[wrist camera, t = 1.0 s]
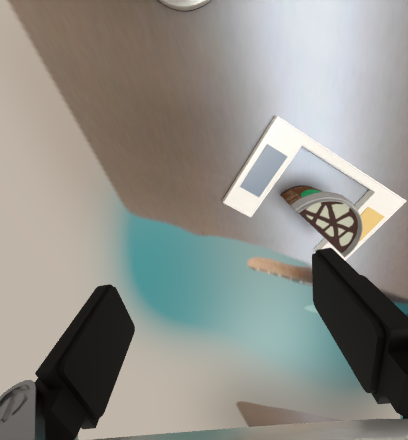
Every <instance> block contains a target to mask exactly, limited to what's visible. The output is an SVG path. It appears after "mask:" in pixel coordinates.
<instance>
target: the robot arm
mask: <svg viewBox="0 0 408 440" xmlns="http://www.w3.org/2000/svg"><path fill="white" fill-rule="evenodd" d="M159 1H160V2H162V3H163V4H164V5H166V6H168V7H170V8H173V9H177V10H182V11H183V10H193V9H196V8H200V7H201V6H203V5H205V4H206V3H208V2H209V1H210V0H159ZM312 274H313V302H314V305H315V308H316V309H317V311H318V313H319V314H320V316H321V317H322V320H323V321H324V323H325V325H326V326H327V328H328V329H329V331H330V333H331V335H332V336H333V338H334V340H335V342H336V343H337V345H338V347H339V348H340V350H341V352H342V353H343V355H344V357H345V358H346V360H347V361H348V364H349V365H350V367H351V369H352V370H353V372H354V374H355V376H356V377H357V379H358V381H359V382H360V384H361V386H362V387H363V389H364V390H365V391H366V392H367V393H372V395H373V397H374V398H375V400H376V402H377V403H378V404H385V403H391V405H392V406H393V408H394V409H395V411H396V412H397V413H399V414H400V415H401V416H400V419H371V420H370V419H369V420H351V421H330V422H313V423H300V424H286V425H272V426H258V427H244V428H232V429H218V430H205V431H192V432H180V433H167V434H155V435H142V436H130V437H119V438H107V439H95V440H408V317H407V316H406V315H405V314H404V313H403V312H402V311H401V310H400V309H399V308H398V307H397V306H396V305H395V304H394V303H393V302H392V301H390V300H389V299H388V298H387V297H386V296H385V295H384V294H383V293H382V292H381V291H380V290H379V289H378V288H377V287H376V286H375V285H374V284H373V283H372V282H370V281H369V280H368V279H367V278H366V277H365V276H362V275H359V274H358V273H357V272H356V271H355V270H354V269H353V268H352V267H351V266H350V265H349V264H348V263H347V262H346V261H345V260H344V259H343V258H342V257H341V256H340V255H339V254H338V253H337V252H336V251H335V250H334V249H332V248H325V249H319V250H316V253H315V254H313V255H312ZM134 331H135V327H134V324H133V322H132V320H131V318H130V316H129V314H128V312H127V310H126V308H125V305H124V303H123V302H122V299H121V297H120V295H119V293H118V291H117V289H116V288H115V287H113V286H112V285H103V286H98V287H97V288H96V289H95V291H94V292H93V293H92V295H91V296H90V298H89V299H88V300H87V302H86V303H85V305H84V306H83V307H82V309H81V310H80V312H79V313H78V314H77V316H76V317H75V318H74V320H73V321H72V323H71V324H70V326H69V327H68V328H67V330H66V331H65V332H64V334H63V335H62V337H61V338H60V339H59V341H58V342H57V343H56V345H55V346H54V348H53V349H52V351H51V352H50V353H49V355H48V356H47V358H46V359H45V360H44V362H43V363H42V364H41V366H40V367H39V369H38V370H37V371H36V373H35V374H36V375H37V377H38V379H37V380H36V382H33V381H32V380H25V381H23V382H20V383H18V384H16V385H14V386H12V387H11V388H10V389H8V390H7V391H6V392H4V393H3V394H2V395H1V396H0V440H78V432H79V430H80V428H82V429H90V428H96V426H97V423H98V420H99V418H100V417H101V416H102V415H103V414H104V412H105V409H106V407H107V404H108V401H109V398H110V396H111V393H112V391H113V388H114V385H115V383H116V380H117V377H118V375H119V372H120V369H121V367H122V364H123V361H124V359H125V356H126V353H127V351H128V348H129V345H130V342H131V340H132V337H133V335H134Z"/></svg>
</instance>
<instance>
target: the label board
mask: <svg viewBox="0 0 408 440" xmlns="http://www.w3.org/2000/svg"><path fill="white" fill-rule="evenodd" d="M301 146H302V147H303V148H305V149H307V150H308V151H310V152H311V153H313V154H314V155H316V156H317V157H319V158H321V159H322V160H324V161H325V162H327V163H328V164H330V165H331V166H333V167H335V168H336V169H338V170H339V171H341V172H342V173H344V174H345V175H347V176H349V177H350V178H352V179H353V180H355V181H356V182H358V183H359V184H361V185H363V186H364V187H366V188H367V189H369V190H368V191H367V193H366V194H365V195H364V196H363V197H362V198H361V199H360V200H359V201H358V202H357V203H356V204H355V205H354V206H355V207H356V209H357V210H358V211H359V214H360V216H361V219H362V223H363V231H362V235H361V238H360V241H359V242H358V244H357V246H356V247H355V248H354V250H353V251H352V252H351V253H350V254H349V255H347V256H346V257H345V258H344V257H343V256H342V255H341V254H340V253H339V252H338V251H337V250H336V249H335V248H334V247H333V246H332V245H331V244H330V243H329V242H328V241H327V240H326V239H325V238H324V239H323V240H322V241H321V242H320V243H319V244H318V246H317V247H316V248H315V250H319V249H325V248H332V249H334V250H335V251H336V252H337V253H338V254H339V255H340V256H341V257H342V258H343V259H344V260H346V259H347V258H348V257H349V256H350V255H351V254H352V253H353V252H354V251H356V250H357V249H358V248H359V247H360V246H361V245H362V244H363V243H364V242H365V241H366V240H367V239H368V238H369V237H370V236H371V235H372V234H373V233H374V232H375V231H376V230H377V229H378V228H379V227H380V226H381V225H382V224H383V223H384V222H385V221H386V220H387V219H388V218H390V217H391V216H392V215H393V214H394V213H395V212H396V211H397V210H398V209H399V208H400V207H401V206H402V205H403V204H404V203H405V202H406V200H404V199H403V198H401V197H400V196H398V195H397V194H395V193H394V192H392V191H391V190H389V189H388V188H386V187H385V186H383V185H382V184H380V183H379V182H377V181H375V180H374V179H372V178H371V177H369V176H368V175H366V174H365V173H363V172H362V171H360V170H359V169H357V168H356V167H354V166H353V165H351V164H350V163H348V162H347V161H345V160H344V159H342V158H341V157H339V156H337V155H336V154H334V153H333V152H331V151H330V150H328V149H327V148H325V147H324V146H322V145H321V144H319V143H318V142H316V141H315V140H313V139H312V138H310V137H309V136H307V135H306V134H304V133H303V132H301V131H299V130H298V129H296V128H295V127H293V126H292V125H290V124H289V123H287V122H286V121H284V120H283V119H281V118H280V117H278V116H274V118H273V120H272V121H271V123H270V125H269V126H268V128H267V129H266V131H265V133H264V134H263V136H262V137H261V139H260V141H259V142H258V144H257V145H256V147H255V149H254V150H253V152H252V153H251V155H250V157H249V158H248V160H247V162H246V163H245V165H244V166H243V168H242V170H241V171H240V173H239V174H238V176H237V178H236V179H235V181H234V182H233V184H232V186H231V187H230V189H229V191H228V192H227V194H226V195H225V197H224V199H223V203H224V204H226V205H228V206H230V207H232V208H234V209H236V210H238V211H240V212H241V213H243V214H245V215H247V216H249V217H252V215H253V214H254V212H255V211H256V210H257V208H258V207H259V205H260V204H261V203H262V201H263V200H264V198H265V197H266V196H267V194H268V193H269V191H270V190H271V189H272V187H273V186H274V184H275V183H276V181H277V180H278V179H279V177H280V176H281V174H282V173H283V172H284V170H285V169H286V167H287V166H288V165H289V163H290V162H291V160H292V159H293V158H294V156H295V155H296V153H297V152H298V151H299V149H300V148H301Z"/></svg>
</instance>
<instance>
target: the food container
mask: <svg viewBox="0 0 408 440" xmlns="http://www.w3.org/2000/svg"><path fill="white" fill-rule="evenodd" d="M281 196H282V197H283V198H284V199H285V200H286V202H287V203H288V204H289V205H290V206H291V207H292V208H293V209H294V210H295V211H296V212H297V213H299V214H300V215H301V216H302V217H304V218H305V219H306V220H307V221H308V222H309V223H310V224H311V225H312V226H313V227H314V228H315V229H316V230H317V231H318V232H319V233H320V234H321V235H322V236H323V237H324V238H325V239H326V240H327V241H328V242H329V243H330V244H331V245H332V246H333V247H334V248H335V249H336V250H337V251H338V252H339V253H340V254H341V255H342V256H343V257H344V258H345V257H346V256H347V255H349V254H350V253H351V252H352V251H353V250H354V248H355V247H356V246H357V244H358V242H359V241H360V238H361V235H362V231H363V223H362V219H361V216H360V214H359V211H358V210H357V209H356V207H355V206H354V205H353V204H352V203H351V202H350V201H349V200H348V199H347V198H345V197H344V196H342V195H339V194H336V193H331V192H321V191H319V190H317V189H315V188H312V187H309V186H296V187H293V188H290V189H288V190H286V191H285V192H283V193H282V194H281Z"/></svg>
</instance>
